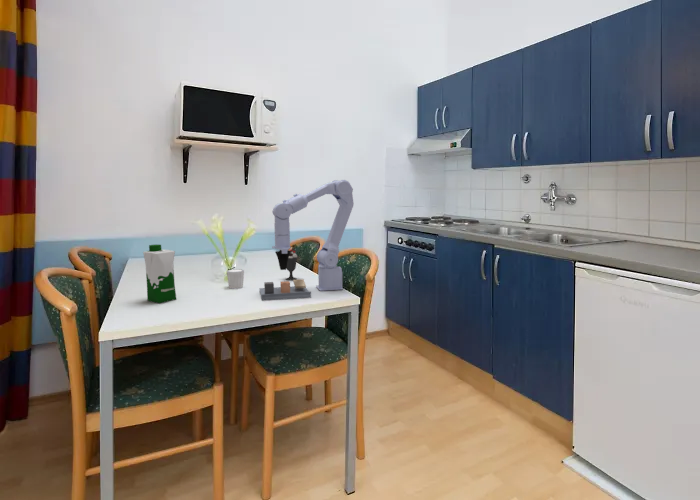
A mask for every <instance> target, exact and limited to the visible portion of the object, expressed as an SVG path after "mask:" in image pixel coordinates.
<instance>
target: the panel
mask: <svg viewBox="0 0 700 500" xmlns="http://www.w3.org/2000/svg"><path fill="white" fill-rule="evenodd" d="M259 295H260V299H261V301H262V302H263V301H264V302H265V301H278V300H293V299H309V298H312V291H309V290H308V288H307V287H306V288H295V285H293V286H290V293H281V286H278V287H276V286H274V294H265V289H264V287H260V288H259Z"/></svg>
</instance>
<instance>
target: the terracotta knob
mask: <svg viewBox="0 0 700 500" xmlns="http://www.w3.org/2000/svg"><path fill="white" fill-rule="evenodd" d="M280 287H281V293H290V287H291V282H290V280H284V281H283V280H282V281H280Z"/></svg>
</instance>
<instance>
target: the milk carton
mask: <svg viewBox="0 0 700 500" xmlns="http://www.w3.org/2000/svg"><path fill="white" fill-rule="evenodd" d="M148 248H149V249H148V250H146V251H143V252H142V253H143V258H144V264H145V275H146V277H145V278H146V293H147V295H146V296H147V297H146V298H147V302H148V301H149V302H151V301H152V302H153V303H156V302H157V304H163V303H166V302H170V301H174V300H177V294H176V286H175V270H174V269H175V267H174V261H175V253H176V251H175V250H171V249H162V244H149V245H148Z"/></svg>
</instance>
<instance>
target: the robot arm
mask: <svg viewBox="0 0 700 500" xmlns="http://www.w3.org/2000/svg"><path fill="white" fill-rule="evenodd" d="M353 190H354V188H353V187H352V185H351V183H350V182H349V180H346V179H340V180H338V179H337V180H336V179H335V180H332V181H331V182H330V181H329V182H327V183H324V184H322V185H320V186H319V187H316V188H315V189H312V190H310V191H309V192H307V193H306V194H302V193H295V194H293V197H290V198H288V199H283V200H282V202H281V203H277V204H275V205H274V207H273V208H272V216H274V223H273V224H274V245H272V246H271V248H272V249H275V250H278V251H274V253H275V255H276V257H277V260H278V266H279V270H280V271H286V270H287V262H288V258H289V255H290V250H291V238H290V237H291V231H290V230H291V226H290V216H292V215H294V214H295V213H297V212H299V211H301V210H303V209H306V208H307V206H308V204H309V203H310V202H312V201H314V200H316V199H318V198H320V197H323V196H325V195H332V197H334V198H335V200H336V201H337V203H338V205H339V207H338V209H337V212H336V215H335V218H334V220H333V222H332V225H331V227H330V231H329V233H328V236H327V239H326V241H325V243H323V245H322V247H321V249H320V250H319V251H318V252H317V254H316V260H317V262H318V263H319V264H318V274H317V275H318V285H315V287H316V288H317V290H319V291H321V292H323V291H338V290H341V291H342V290H344V289H343V269H342V267H341V266H337V265H338V263H339V253H340V249H339V248H340V247H339V246H340V243H341V240H342V238H343V235H344V233H345V230H346V227H347V224H348V221H349V219H350V216H351V214H352V212H353V211H352V210H353V208H354V197H353V192H354V191H353Z"/></svg>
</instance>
